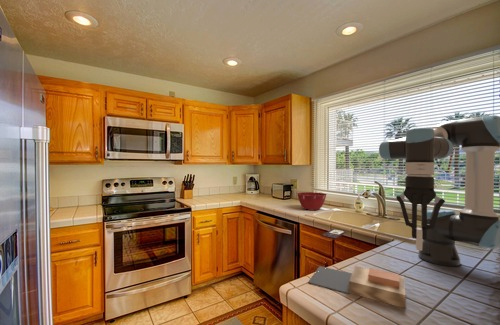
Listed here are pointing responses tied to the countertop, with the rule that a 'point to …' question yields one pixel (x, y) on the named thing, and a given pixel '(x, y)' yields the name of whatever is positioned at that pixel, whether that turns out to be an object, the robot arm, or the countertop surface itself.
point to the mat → (331, 279)
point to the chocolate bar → (333, 234)
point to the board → (376, 288)
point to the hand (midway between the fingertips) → (419, 248)
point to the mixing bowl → (311, 200)
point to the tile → (383, 277)
